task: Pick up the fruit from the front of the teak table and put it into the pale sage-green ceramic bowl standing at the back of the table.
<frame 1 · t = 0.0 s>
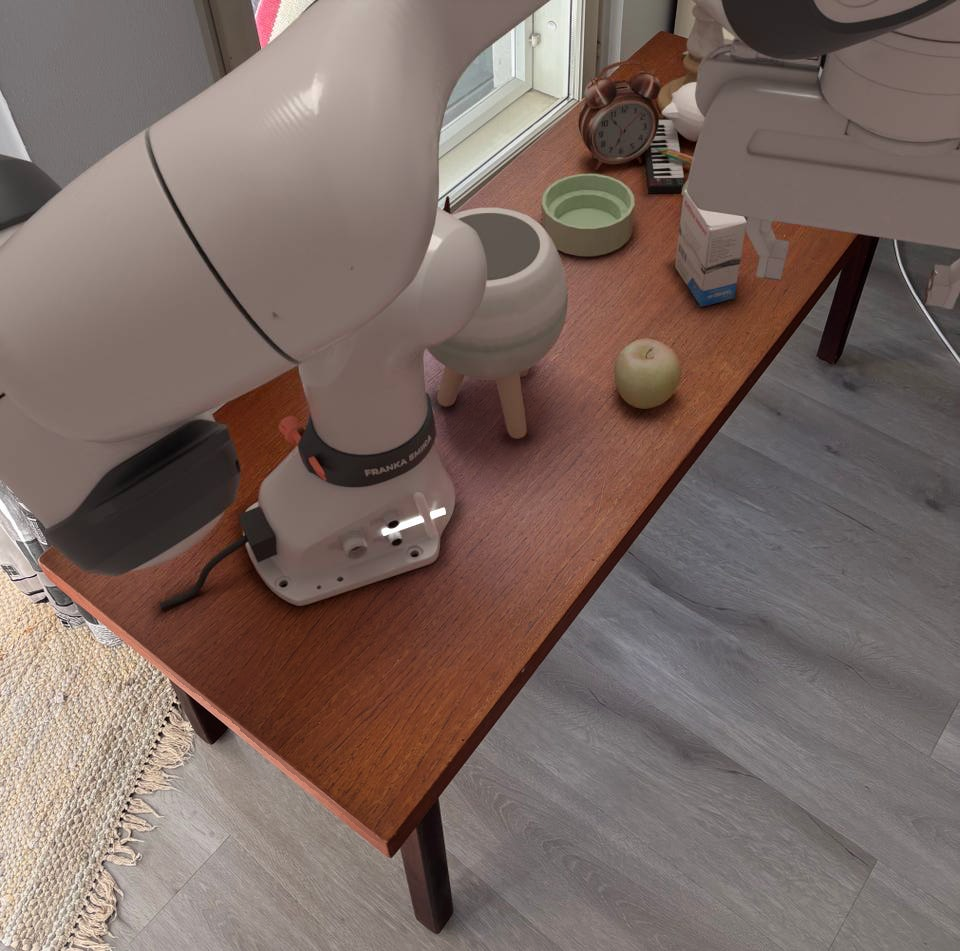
hand: (851, 286, 57), 44 cm above the table, tool pointing down, fingers open, 8 cm apart
alarm clock: (616, 162, 141), on the table
mug: (801, 147, 141), on the table, touching diorama
fruit: (644, 396, 112), on the table
wooden figurine: (442, 301, 124), on the table
bowl: (586, 231, 132), on the table
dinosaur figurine: (765, 94, 143), point 4 cm above the table, touching candle holder
midi keyboard: (681, 153, 141), point 1 cm above the table, touching pencil
planter: (494, 404, 113), on the table
pencil: (652, 147, 139), point 3 cm above the table, touching midi keyboard
cat figurine: (773, 121, 138), point 5 cm above the table
ink box: (703, 284, 124), on the table
candle holder: (697, 105, 150), on the table, touching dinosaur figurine
seashell: (714, 214, 133), on the table
cross: (693, 46, 159), point 1 cm above the table
diorama: (843, 138, 135), point 4 cm above the table, touching mug
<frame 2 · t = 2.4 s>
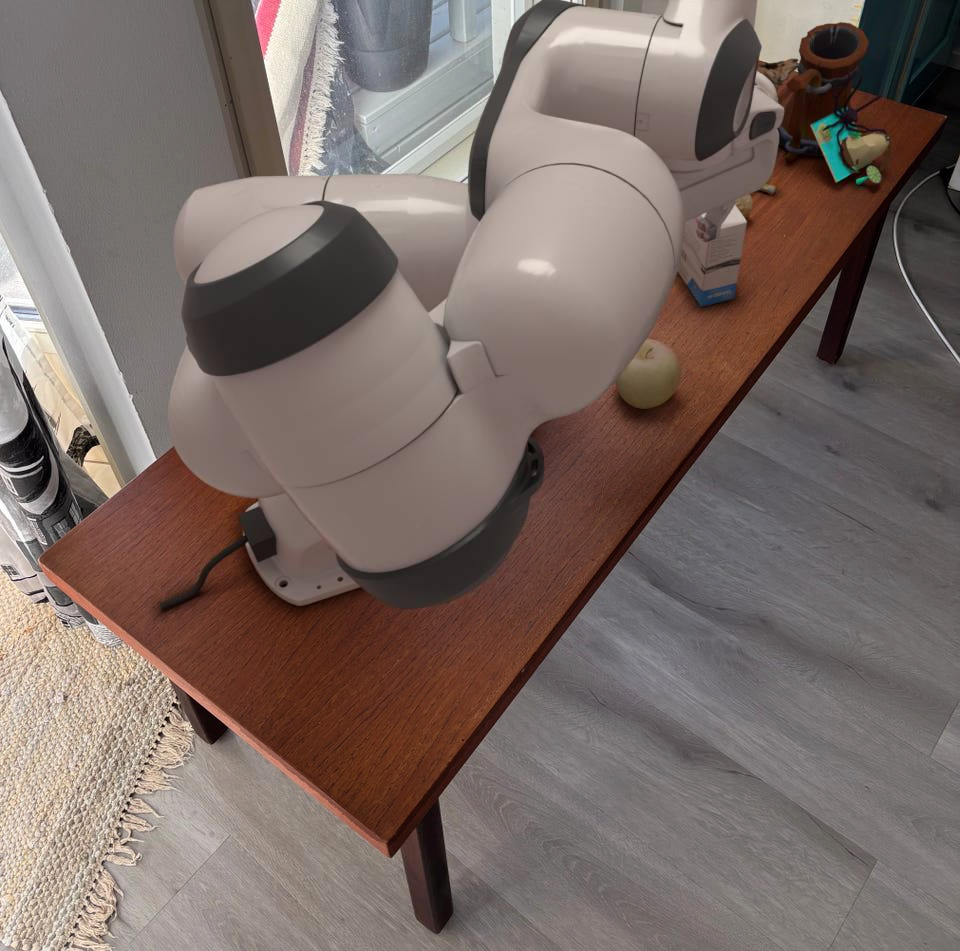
hand: (668, 254, 94), 21 cm above the table, tool pointing down, fingers open, 8 cm apart
nothing on the table moved.
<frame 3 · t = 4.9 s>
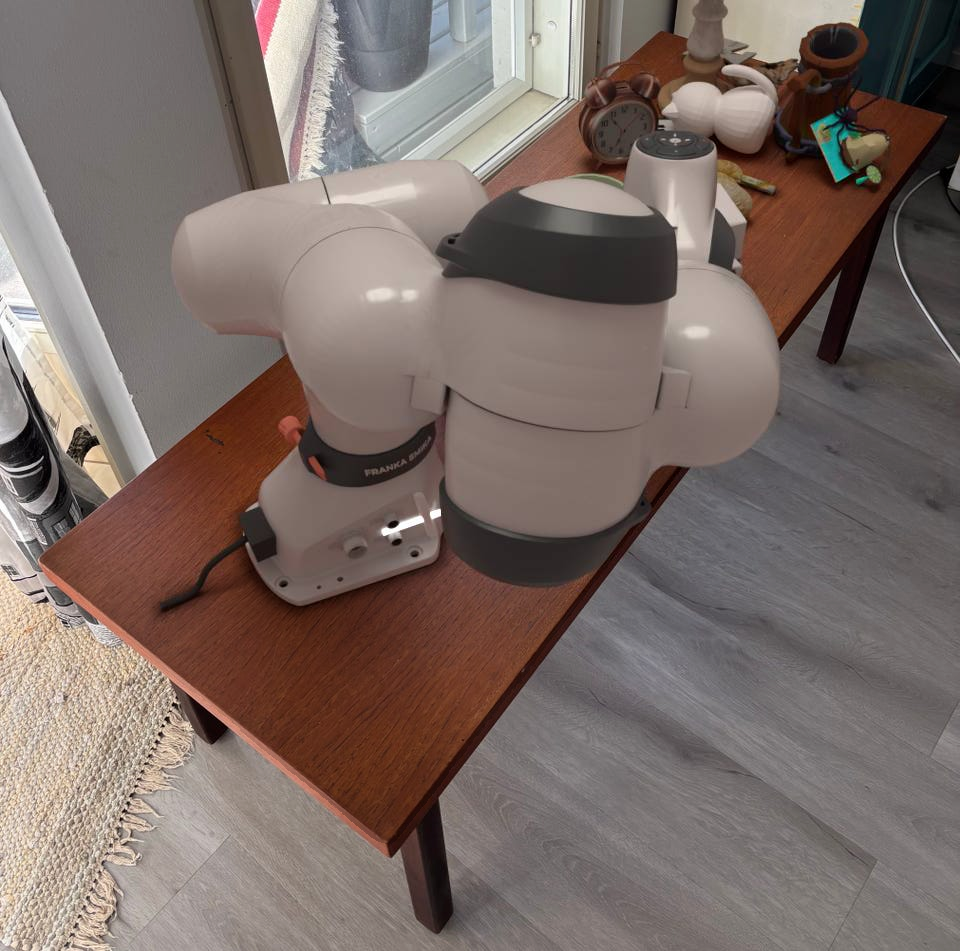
hand: (647, 377, 110), 3 cm above the table, tool pointing down, fingers closed on fruit, 7 cm apart
fruit: (644, 396, 112), on the table, touching gripper
planter: (494, 404, 113), on the table, touching arm
everything else where it was.
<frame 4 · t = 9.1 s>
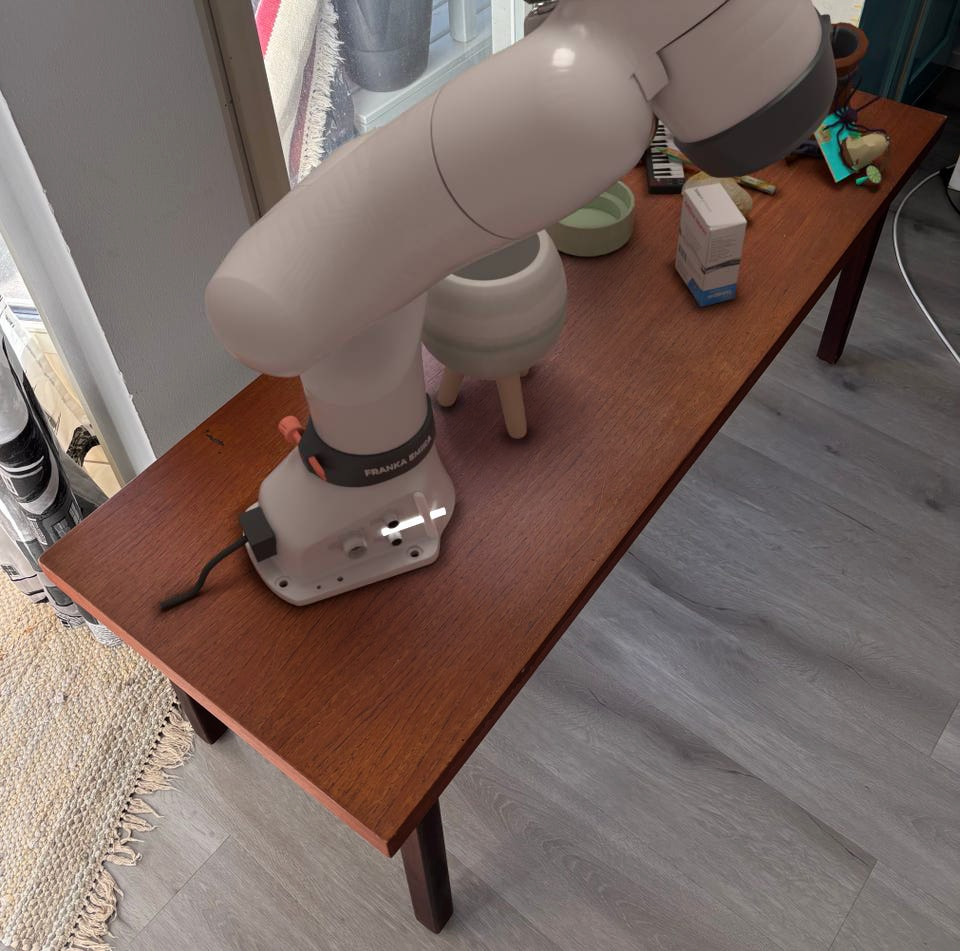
hand: (601, 101, 113), 21 cm above the table, tool pointing down, fingers closed on fruit, 7 cm apart
fruit: (600, 125, 116), point 18 cm above the table, touching gripper
planter: (494, 404, 113), on the table
everything else where it was.
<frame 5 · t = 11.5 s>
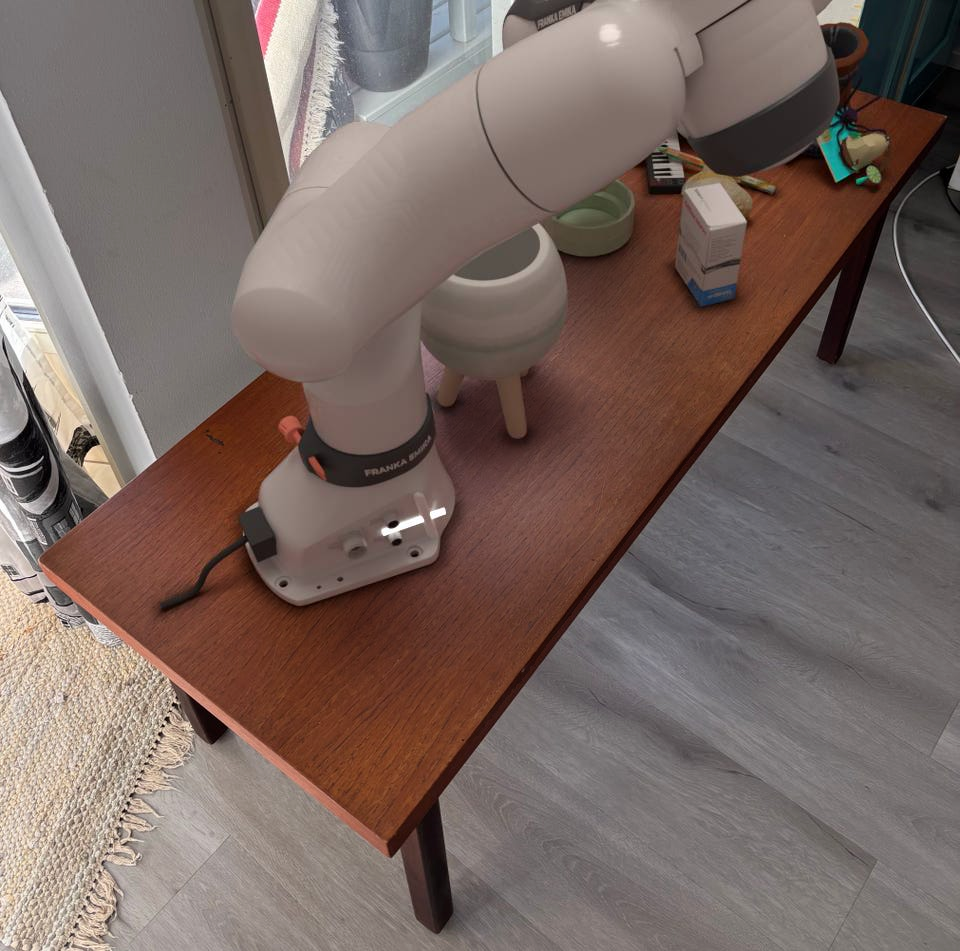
hand: (591, 166, 124), 10 cm above the table, tool pointing down, fingers closed on fruit, 7 cm apart
fruit: (590, 187, 126), point 7 cm above the table, touching gripper
everything else where it was.
when the fingers open (3 cm above the table, at t = 13.8 s): fruit stays where it is, resting on bowl.
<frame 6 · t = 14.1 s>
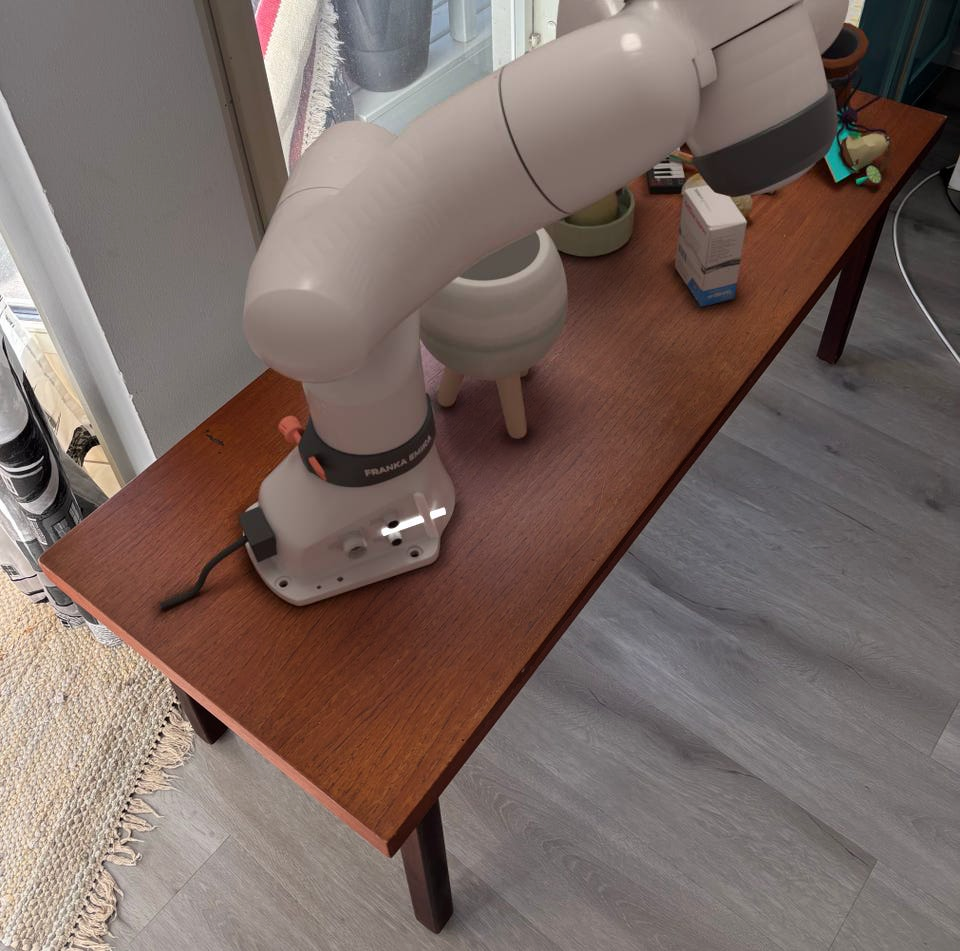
hand: (587, 206, 128), 4 cm above the table, tool pointing down, fingers open, 8 cm apart
fruit: (588, 229, 131), resting on bowl
everything else where it was.
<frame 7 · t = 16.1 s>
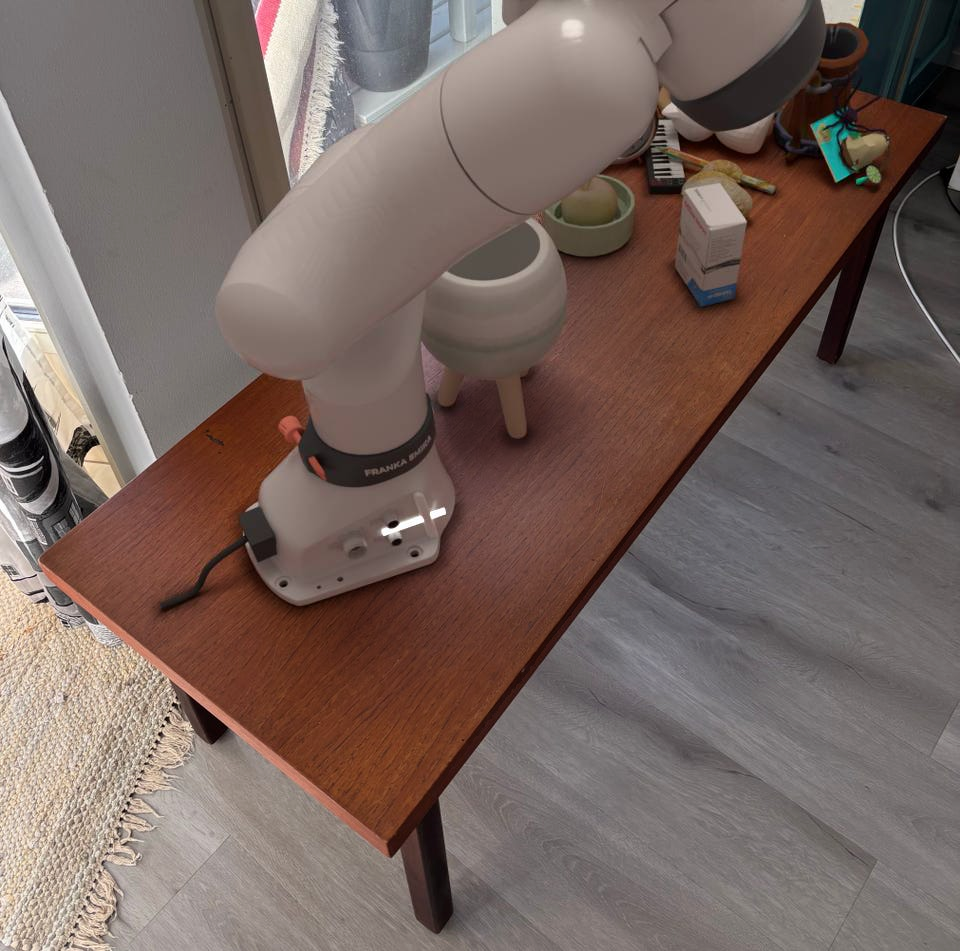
hand: (584, 48, 113), 25 cm above the table, tool pointing down, fingers open, 8 cm apart
nothing on the table moved.
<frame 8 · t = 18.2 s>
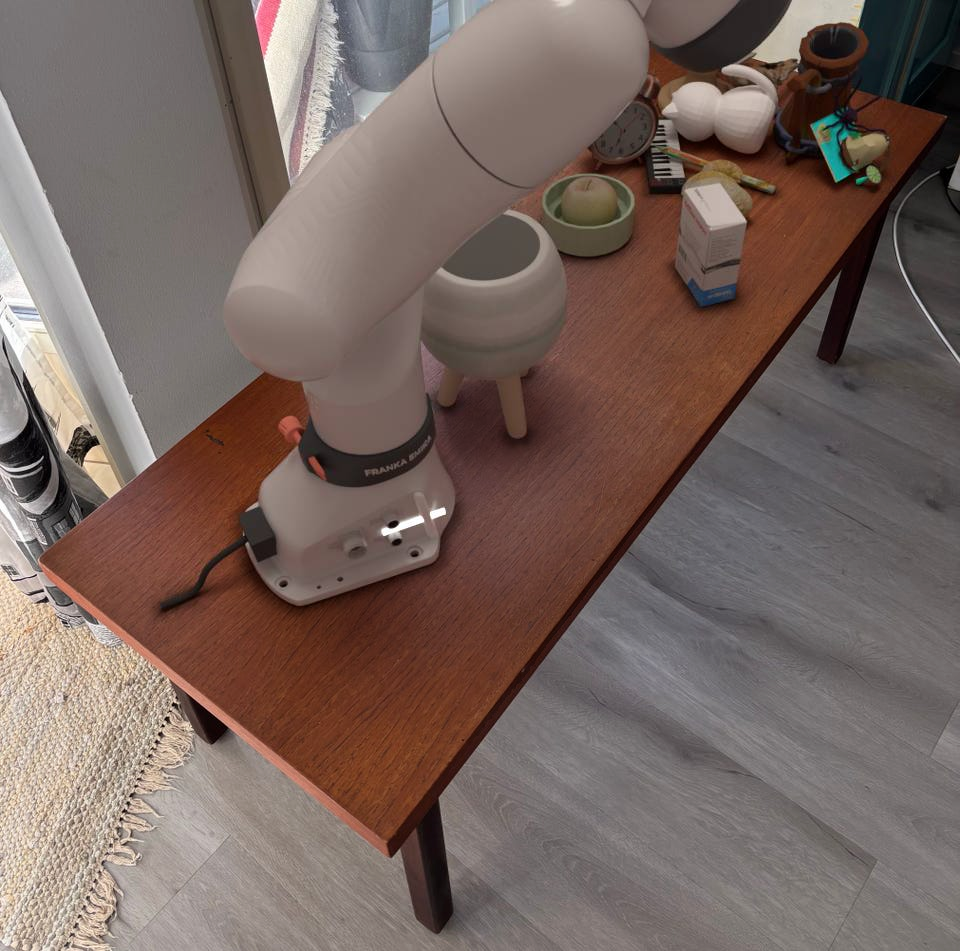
nothing on the table moved.
at the end: fruit inside the target area in the bowl (0.1 cm from its centre), point 0.4 cm above the bowl's base; the gripper is holding nothing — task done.
